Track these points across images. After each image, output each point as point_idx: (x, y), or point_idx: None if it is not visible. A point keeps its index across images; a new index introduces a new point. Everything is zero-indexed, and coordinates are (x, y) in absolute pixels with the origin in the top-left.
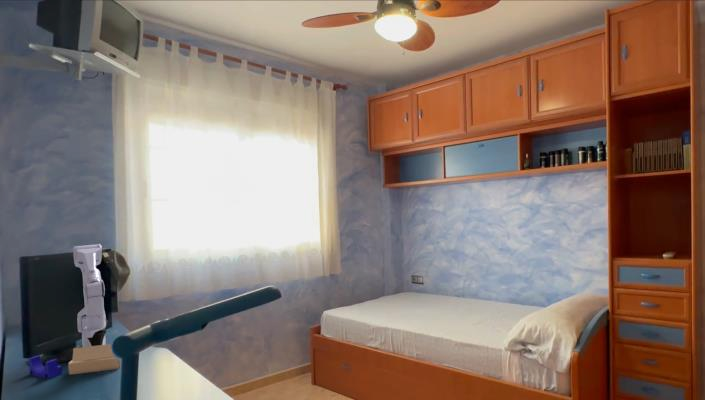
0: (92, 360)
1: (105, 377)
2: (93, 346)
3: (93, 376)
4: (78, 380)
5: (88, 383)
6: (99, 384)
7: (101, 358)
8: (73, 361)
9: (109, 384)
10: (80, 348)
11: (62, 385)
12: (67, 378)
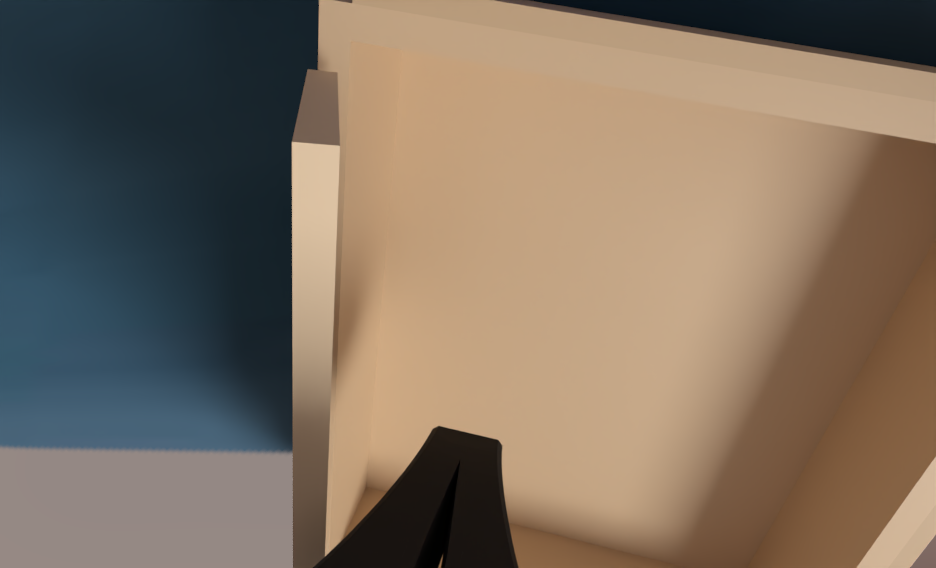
0: None
1: (165, 393)
2: (293, 537)
3: (223, 298)
4: (148, 165)
5: (51, 273)
6: (18, 358)
7: (824, 350)
8: (451, 56)
9: (11, 421)
10: (292, 308)
11: (33, 5)
12: (252, 6)
